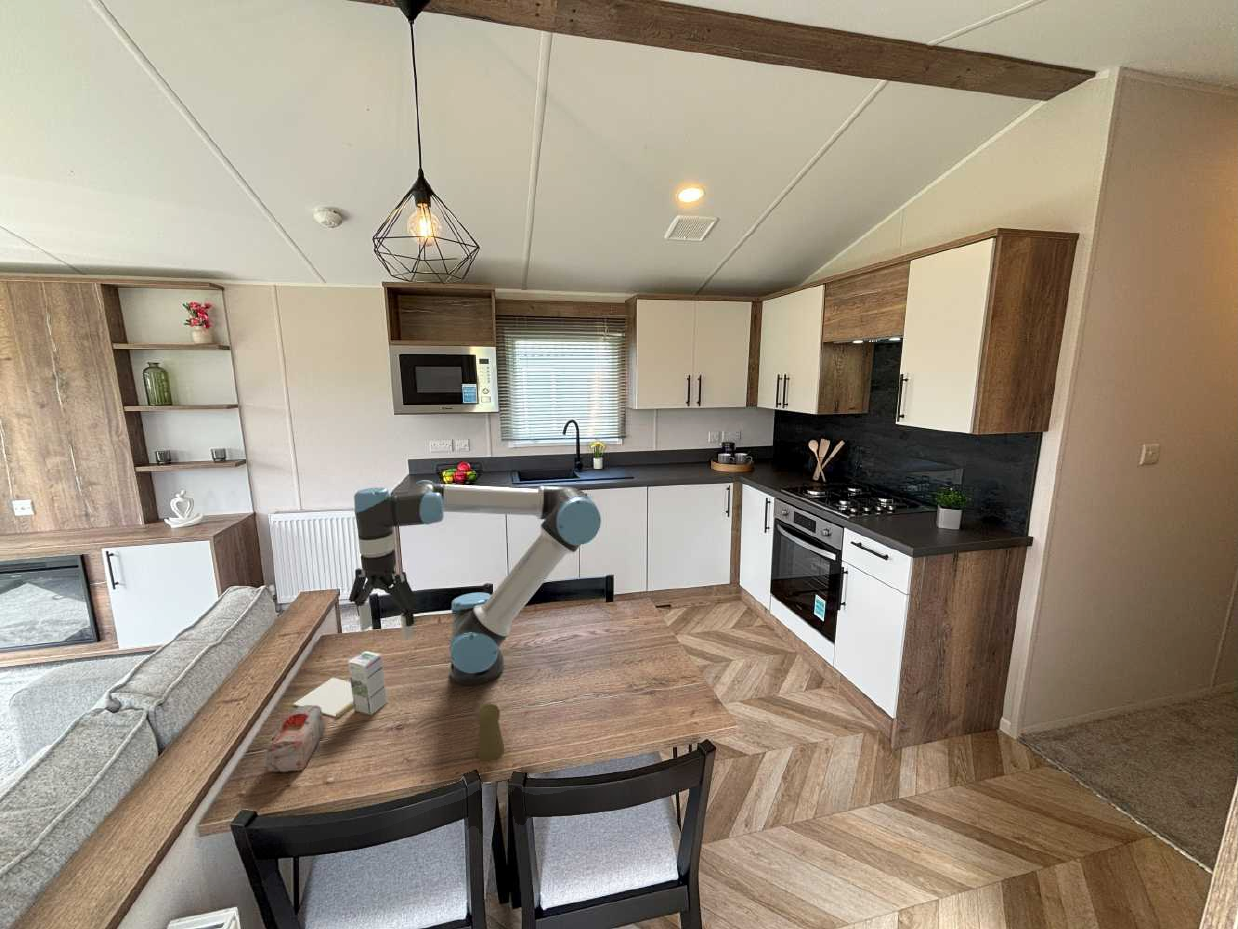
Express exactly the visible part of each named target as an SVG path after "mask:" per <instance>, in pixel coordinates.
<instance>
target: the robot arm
mask: <svg viewBox="0 0 1238 929" xmlns="http://www.w3.org/2000/svg"><path fill="white" fill-rule="evenodd" d="M353 496H354V498H353V500H354V512H353V513H354V515H355V521H356V527H357V528H356V529H357V536H358V540H357V541H358V547H359V554H360V562H361V567H358V568H356V569H355V570H354V572H355V573H354V580H353V584H352V588H351V591H350V594H349V598H348V601H349V602H350V603H354V604H355V606H356V609H357V610H356V611H357V615H358V617H359V624H360V625H359V626H360V631H363V632H364V631H366V630H367V629H370V628H371V627H373V622H372V614H371V606H370V602H369V601H368V600H369V597H370V595H371V594H372V593H373V591H374V590H379V591H380V590H381V591H384V592H385V593H386V594H388V595H389V596H390V597H391V599H392V601H394V603H395V604H396V605H397V607H398V608H399V610H400V611H401V614H400V622H401V630H402V639H403V640H404V641H407V640H408V639H410V638H411V637H413V636H414V635H415V634H414V633H415V631H414V624H415V617H414V613H415V612H417V611H418V610H420V608H421V606H420V604H419V602H418V600H417V598H416V596H415V593H414V592H413V590H412V587H411V585H410V584H409V581H408V579H407V573H406V572H405V571H402V572H400V573H396V571H395V567H396V564H397V558H396V557H397V556H396V551H395V550H394V549H395V542H394V541H395V539H394V533H393V532H394V531H393V530H394V529H393V528H396V527H398V528H399V527H407V526H408V527H409V526H418V525H419V526H420V525H431V524H436V523H437V524H438V523H441V522H443V520H444V516H445V515H444V513H466V514H486V515H487V514H490V515H508V516H509V515H510V516H511V515H513V516H532V517H536V518H537V519H538V520H544V521H543V522H542V523H541V524H540V534H539V535H538V537H537V538H536V539H535V541H534V542H533V543H532V544H531V545H530V547H529V548H528V549H527V550H526V552H525V553H524V554H523V556H522V557H521V558H520V559H519V560H518V561H517V563H516V564H515V566H514V567H513V568H512V569H511V571H509V573H508V574H507V575H506V577H505V578H504V579H503V580H502V581H501V583H500V584H498V585H499V586H497V588H496V589H495V590H494V591H493V593H492V594H490V593H488V592H471V593H466V594H462V595H460V596H457V597H456V598H454V599H453V600H452V601H451V609H450V611H451V616H452V617H451V619H452V626H451V635H450V636H451V638H450V644H449V649H448V650H449V654H450V655H449V656H450V660H451V662H450V663H451V664H450V676H451V678H452V680H453V682H455V683H458V684H460V685H463V686H474V685H475V686H477V685H481V684H484V683H487V682H490V681H492V680H494V679H495V678H497V677H498V676H499V675H500V674H501V673H502V672H503V670H504V668H505V660H504V655H503V654H502V652H501V649H500V647H501V645H502V644H503V642H504V641H505V640H506V639H507V637H508V636H509V635H510V634H511V628H510V624H512V622H513V621H514V620H515V618H516V617H517V616H518V615H519V614H520V612H521V611H522V609H523V608H524V607H525V606H526V604H528V602H529V601H530V600H531V599H532V597H533V596H534V595H535V593H536V592H537V591H538V590H539V588H540V587H542V584H544V582H545V581H546V580H547V578H548V577H549V576H550V575H551V574H552V572H553V571H554V570H555V569H556V567H557V566H558V565H559V564H560V562H561V561H562V560H563V558H564V557H565V556H566V555H567V554H575V553H576V552H577V550H578V549H579V548H580V547H581V546H582V545H585V544H588V543H589V542H591V541H592V540H593V539H595V537H596V536H597V535H598V533H599V531H600V528H601V524H602V523H601V522H602V518H601V514H600V511H599V508H598V507H597V506H598V505H596V503H595V502H594V501H593V500H592V499H591V498H589V497H588V495H587V494H586V493H585V492H584V491H583V490H581V489H579V488H576V487H572V486H554V485H553V486H551V485H549V486H547V485H540V486H539V487H538V488H519V487H503V486H486V485H485V486H482V485H466V484H464V485H463V484H450V483H449V484H447V483H445V484H441V483H435V482H433V481H431V480H427V479H424V480H419V481H417V482H415V483H414V484H413V485H412V486H411V487H410V489H409V491H408V493H407V494H402V495H390V493H389V490H388V489H387V488H386V487H368V488H363V489H360V490H358V491H357V492H355V493H354V495H353Z"/></svg>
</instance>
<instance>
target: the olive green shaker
mask: <svg viewBox="0 0 1238 929" xmlns="http://www.w3.org/2000/svg"><path fill="white" fill-rule="evenodd" d="M500 717H501V712H500V708H499V707H498V706H497V705H496V704H492V703H489V704H488V703H487V704H484V705H482V706H480V707H479V708H478V710H477V712H476V722H477V724H478V725H479V726H478V727H479V728H478V739H477V740H478V742H477V754H476V755H477V757H478V759H479V760H481V761H484V762H489V761H495V760H496V759H499V757H501V756H502V754H504V752H505V745H504V741H503V738H502V737H503V736H502V731H501V728H500V723H499V720H500V719H501V718H500Z"/></svg>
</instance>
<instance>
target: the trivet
mask: <svg viewBox="0 0 1238 929" xmlns="http://www.w3.org/2000/svg"><path fill="white" fill-rule="evenodd" d="M292 704H293V706H295V707H300V706H305V705H317V706H319V707H321V711H322V715H327V716H330V717H333V718H336V719H340V718H341V717H342V716H344V715H345V714H347V712H349V711H350V710H352V708H354V702H353V695H352V688H351V681H348V680H343V679H339V678H336V677H331V678H330V679H328V680H326V681H325V682H324V683H322V684H321V685H319V686H318V687H316V688H315V689H314V690H311V692H309V693H307V694H306V695H304V696H303V697H301V698H299V699H298V700H297V701H295V702H294V703H292Z"/></svg>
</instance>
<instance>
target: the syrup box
mask: <svg viewBox="0 0 1238 929" xmlns="http://www.w3.org/2000/svg"><path fill="white" fill-rule="evenodd" d="M347 665H348V666H347V667H348V673H349V682H351V688H352V695H353V702H354V707H353V708H354V712H357V713H361V714H365V715H368V716H372V715H374V714H375V713H376V712H378V711H379V710H380V709H382V707H384V706H385V705H386V704H387V703H388V698H387V693H386V684H385V677H384V668H383V660H382V654H381V653H376V652H372V651H366V650H364V651H362V652H360V653H359V654H356V655H355V656H353V658H351V659H350V660H349V661H348V662H347Z"/></svg>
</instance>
